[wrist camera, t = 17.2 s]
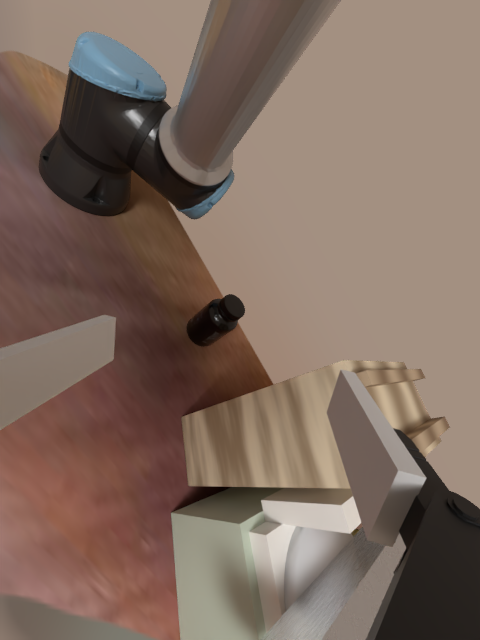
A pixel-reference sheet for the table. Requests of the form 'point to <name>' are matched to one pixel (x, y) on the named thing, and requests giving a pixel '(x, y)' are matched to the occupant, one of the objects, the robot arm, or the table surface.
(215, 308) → the supplement bottle
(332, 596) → the bar
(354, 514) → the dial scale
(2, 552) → the table surface
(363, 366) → the birch stand
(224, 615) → the block
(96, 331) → the robot arm
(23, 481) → the table surface
